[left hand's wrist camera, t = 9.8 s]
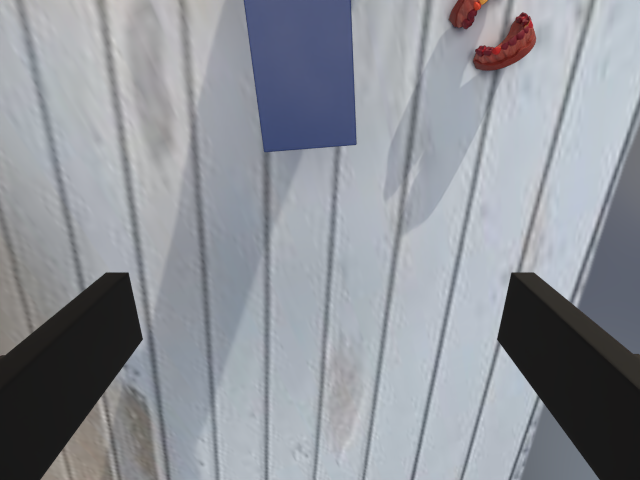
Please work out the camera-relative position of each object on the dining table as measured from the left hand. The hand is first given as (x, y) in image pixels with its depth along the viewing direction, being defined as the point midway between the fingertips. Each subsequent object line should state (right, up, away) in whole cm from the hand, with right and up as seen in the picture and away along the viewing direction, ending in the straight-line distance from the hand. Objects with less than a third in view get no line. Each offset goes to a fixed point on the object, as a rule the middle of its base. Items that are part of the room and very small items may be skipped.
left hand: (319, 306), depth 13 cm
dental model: (+16, +23, +23) cm, 37 cm away
